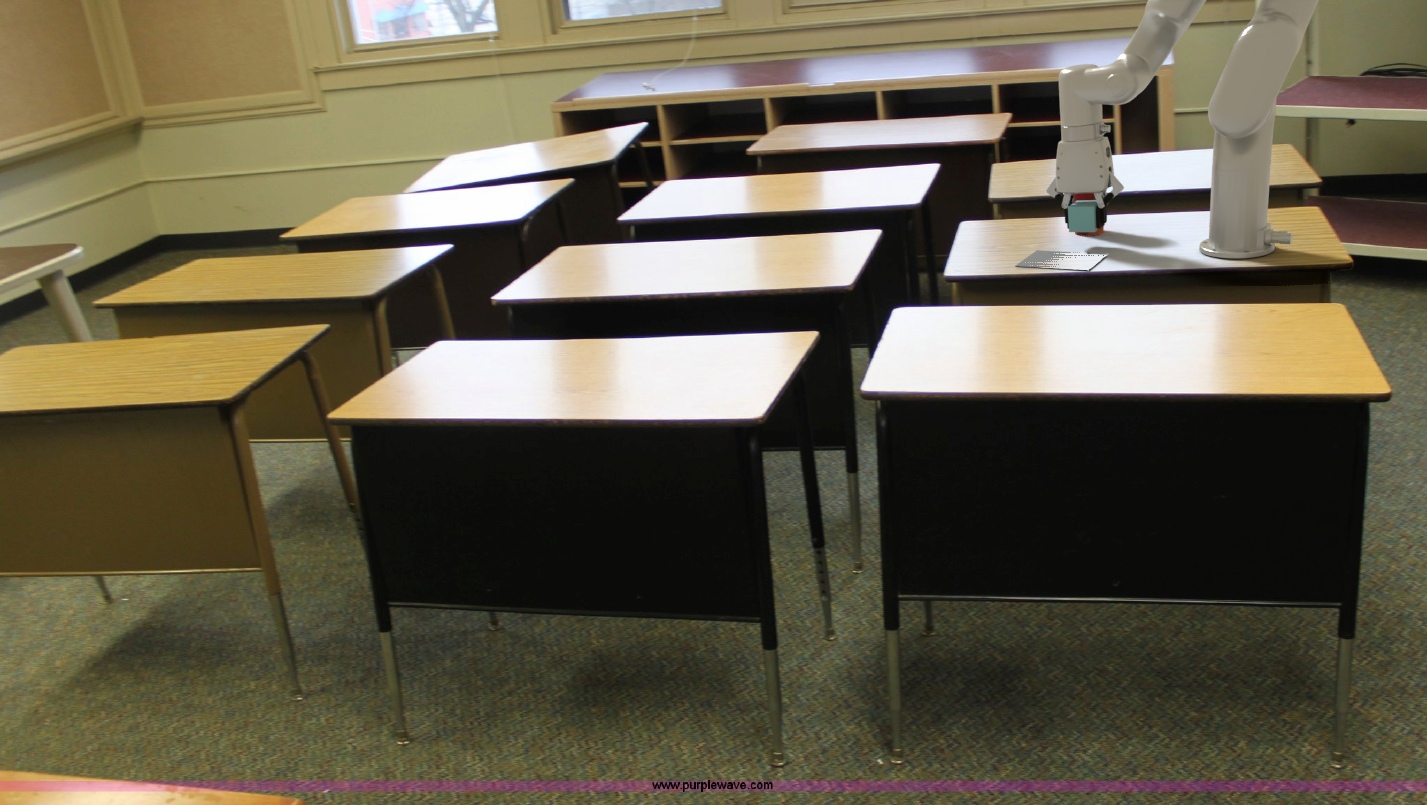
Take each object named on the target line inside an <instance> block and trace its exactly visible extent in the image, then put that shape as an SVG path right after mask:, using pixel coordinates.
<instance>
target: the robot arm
mask: <svg viewBox="0 0 1427 805" xmlns="http://www.w3.org/2000/svg"><path fill="white" fill-rule="evenodd" d="M1319 1H1320V0H1260V2H1259V4H1258V7H1257V8H1256V10H1255V12H1254V14H1253V17H1252V18H1251V20H1250V21H1249V22H1248V23H1247V24H1246V25H1245V26H1244V27H1243V28H1242V30H1241V32H1240V33H1239V35H1238V36H1237V38H1236V40H1235V42H1234V44H1233V47H1232V50H1231V52H1230V54H1229V56H1228V58H1227V61H1226V64H1225V66H1224V68H1223V70H1222V73H1221V75H1220V78H1218V82H1217V84H1216V87H1215V89H1214V92H1213V94H1212V96H1211V98H1210V99H1209V100H1210V101H1209V104H1208V107H1207V116H1208V120H1209V124H1210V126H1211V127H1212V128H1213V130H1214V135H1213V136H1214V137H1213V148H1212V163H1211V164H1212V165H1211V186H1210V188H1211V189H1210V207H1209V224H1208V225H1209V226H1208V227H1209V229H1208V238H1207V239H1204V240H1202V241H1201V242H1200V243H1199V252H1201V253H1202V254H1204V255H1206V256H1210V257H1214V258H1218V259H1219V258H1221V259H1233V260H1234V259H1252V258H1259V257H1262V256H1267V255H1269V254H1271V253H1273V252H1274V251H1275V248H1276V244H1280V245H1292V242H1293V236H1294V235H1293V233H1291V232H1290V233H1289V231H1288V230H1286V231H1285V230H1279V231H1278V230H1274V229H1273V228H1272V222H1268V211H1269V194H1270V179H1271V178H1270V177H1271V164H1272V151H1273V139H1274V138H1273V137H1274V128H1275V119H1276V113H1277V112H1276V110H1277V97H1278V95H1279V93H1280V91H1281V89H1282V87H1283V84H1284V82H1285V80H1286V79H1287V76H1288V74H1289V71H1290V69H1291V67H1292V65H1293V62H1295V61H1294V60H1295V59H1296V56H1297V55H1298V54H1299V52H1300V50H1301V47H1302V44H1303V39H1304V36H1305V33H1306V31H1307V30H1308V27H1309V26H1308V25H1309V24H1310V22H1311V19H1312V17H1313V15H1314V12H1315V10H1316V8H1317V5H1318V3H1319ZM1206 2H1207V0H1147V2H1146V4H1145V9H1144V12H1143V17H1142V18H1141V22H1140V23H1139V24H1138V27H1137V29H1136V30H1135V32H1134V33H1133V35H1132V37H1131V38H1130V40H1129V41H1128V43H1127V45H1126V46H1125V48H1124V49H1123V50H1122V52H1121V53H1120V55H1119V56H1118V57H1117V59H1116V60H1115V61H1114V62H1112V63H1110V64H1107V65H1101V66H1098V65H1097V64H1093V63H1092V64H1091V63H1089V64H1088V63H1087V64H1085V63H1084V64H1076V65H1071V66H1068V67H1064V68H1063V69H1061V70H1060V72H1059V74H1058V91H1059V92H1058V95H1059V115H1060V132H1061V133H1060V134H1061V136H1060V137H1061V140H1060V141H1058V143H1057V149H1056V160H1055V177H1054V178H1053V180H1052V181H1051V183H1050V184H1049V185H1048V187H1047V188H1046V190H1045V191H1046V193H1047V194H1048V195H1049V196H1051V197H1052V198H1054V200H1056V202H1058V203H1059V205H1061V208H1063V209H1064V223H1065V224H1066V225H1067V226H1066V227H1067V229H1068V230H1069V221H1068V206H1070V205H1071V204H1073V199H1074V195H1075V194H1077V193H1094V195H1095V198H1096V201H1097V204H1098V205H1097V208H1096V228H1097V229H1100V228H1101V227H1103V226H1104V227H1105V225H1106V223H1107V221H1108V211H1107V210H1108V209H1107V208H1108V207H1107V206H1108V205H1109V203H1110V202H1111V201H1112V200H1113V199H1114V198H1115V197H1116V196H1117V195H1119V194H1120V193H1122V191H1123V190H1125V187H1124V185H1123V184H1122V183H1121V182H1120V180H1119V179H1118V178H1117V177H1116V176H1115V170H1114V162H1113V160H1114V159H1113V153H1112V150H1111V144H1110V141H1109V138H1108V136H1104V135H1105V134H1106V133H1111V125H1110V124H1105V123H1104V122H1105V121H1104V120H1103V105H1110V106H1117V105H1118V106H1119V105H1125V104H1127V103H1130V102H1131V101H1132V100H1134V99H1135V98H1137V96H1138V95H1140V94H1141V93H1142V92H1143V91H1144V90H1145V89H1146V88H1147V86H1149V84H1150V83H1151V81H1152V80H1153V79H1154V77H1155V76H1156V74H1157V73H1158V71H1159V70H1160V68H1161V67H1162V66H1163V64H1164V62H1165V61H1166V60H1167V58H1168V56H1169V55H1170V54H1171V53H1172V51H1173V49H1174V48H1175V47H1176V45H1177V43H1178V42H1179V40H1180V39H1181V38H1182V36H1183V35H1184V34H1185V33H1186V32H1187V31H1188V29H1189V27H1190V26H1191V24H1192V23H1193V21H1194V20H1195V18H1196V17H1197V16H1198V14H1199V12H1200V10H1202V8H1203V6H1204V5H1205V3H1206ZM1111 187H1112V190H1111V191H1109V193H1107V190H1108V189H1109V188H1111Z"/></svg>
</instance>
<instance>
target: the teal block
mask: <svg viewBox="0 0 1427 805" xmlns="http://www.w3.org/2000/svg"><path fill="white" fill-rule="evenodd" d="M1097 205H1098V204H1097V201H1096V200H1084V201H1076V202H1074V203H1073V204H1071V205H1070V206H1068V221H1069V229H1068V232H1069V233H1075V232H1096V231H1097V230H1098V229H1097V228H1096V208H1097Z"/></svg>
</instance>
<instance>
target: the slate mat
mask: <svg viewBox="0 0 1427 805" xmlns="http://www.w3.org/2000/svg"><path fill="white" fill-rule="evenodd" d="M1071 252H1073V253H1074V252H1075V253H1076V251H1061V250H1060V251H1056V250H1040V249H1038V250H1034V252H1032V253H1031V254H1030V255H1028V256H1027V257H1025V258H1024V259H1023V260H1021V261H1019V262H1018V263H1017V264H1016V265H1015V266H1017V267H1016V268H1027V267H1050V266H1046V265H1053V264H1047V263H1046V264H1045V263H1044V262H1051V261H1052V260H1059V259H1053V258H1064V257H1059V256H1073V255H1065V254H1060V253H1071ZM1054 253H1055V254H1054ZM1056 253H1059V254H1056ZM1077 253H1078V252H1077ZM1053 256H1054V257H1053ZM1055 256H1056V257H1055ZM1057 256H1058V257H1057ZM1074 256H1077V255H1074ZM1078 256H1080V255H1078ZM1081 256H1083V255H1081ZM1084 256H1085V255H1084ZM1086 256H1087V255H1086ZM1088 256H1090V255H1088ZM1091 256H1092V255H1091ZM1093 256H1094V255H1093ZM1098 256H1099V255H1098ZM1103 256H1104V255H1103ZM1051 258H1052V259H1051ZM1066 258H1067V257H1066ZM1068 258H1069V257H1068ZM1070 258H1071V257H1070ZM1075 258H1076V257H1075ZM1046 260H1047V261H1046ZM1048 260H1049V261H1048ZM1050 260H1051V261H1050ZM1062 260H1063V259H1062ZM1025 262H1026V263H1025ZM1028 262H1029V263H1028ZM1030 262H1031V263H1030ZM1032 262H1033V263H1032ZM1035 262H1036V263H1035ZM1037 262H1043V263H1044V264H1043V263H1037ZM1052 262H1053V261H1052ZM1054 262H1055V261H1054ZM1056 262H1057V261H1056ZM1030 265H1031V266H1030ZM1032 265H1033V266H1032ZM1037 265H1038V266H1037ZM1039 265H1045V266H1039ZM1054 265H1055V264H1054ZM1056 265H1057V264H1056ZM1058 265H1059V264H1058ZM1018 266H1019V267H1018ZM1051 267H1052V266H1051ZM1053 267H1054V266H1053ZM1055 267H1056V266H1055Z"/></svg>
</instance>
